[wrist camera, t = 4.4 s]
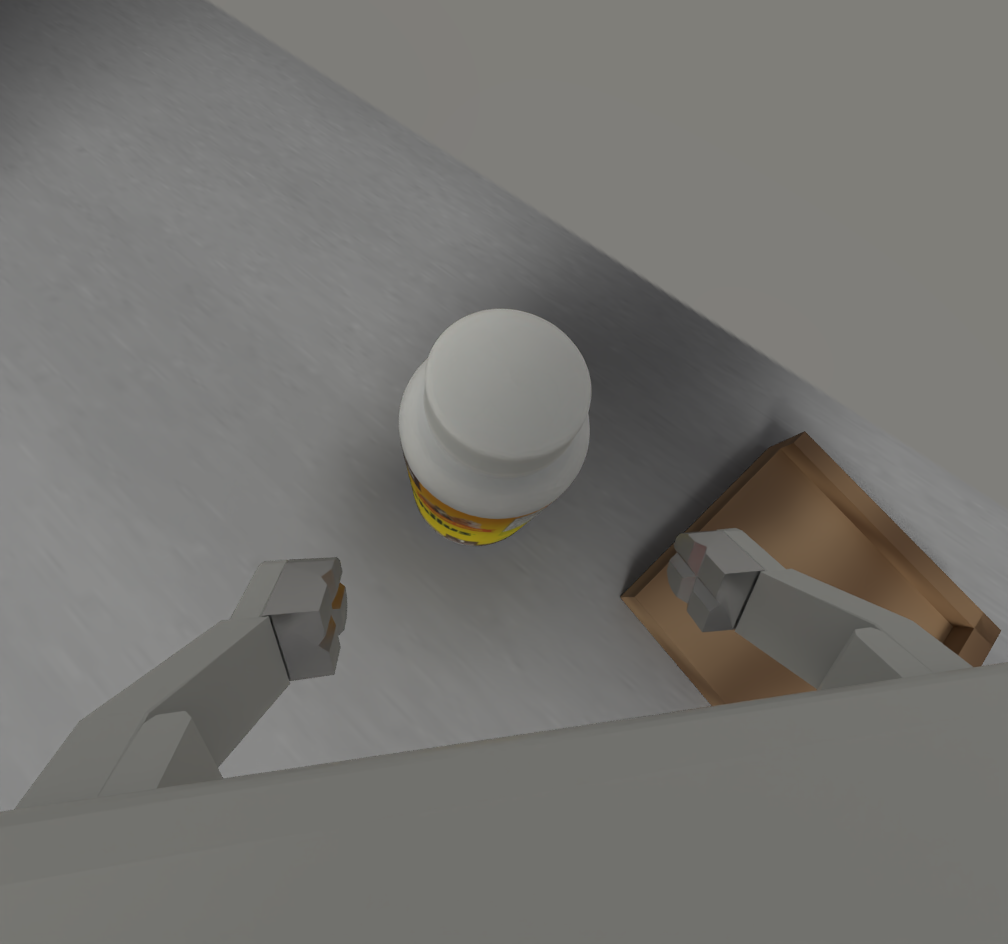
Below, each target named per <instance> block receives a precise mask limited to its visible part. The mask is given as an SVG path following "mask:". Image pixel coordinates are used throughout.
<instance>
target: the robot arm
mask: <svg viewBox="0 0 1008 944" xmlns="http://www.w3.org/2000/svg"><path fill="white" fill-rule="evenodd" d="M674 548H675V550H676V552H677V553H676V554H675V555H674V556H673V557H672V558H671V559H670V560H669V564H668V568H667V577H668V582H669V585H670V587H671V590H672V591H673V593H674V594H675V595H676V597H677V598H679V599H681V600H682V601H684V602H686V603H687V612H688V614H689V615H690V616H691V618H692V619H693V620H694V622H695V623H696V625H697V626H698V627H699V629H700V630H701V631H702V632H713V631H725V630H735V632H736V633H738V634H739V635H741V636H742V637H743V638H745V639H746V640H748V641H749V642H751V643H752V644H753V645H755V646H756V647H758V648H759V649H760V650H762V651H763V652H765V653H766V654H768V655H769V656H770V657H772V658H773V659H775V660H776V661H778V662H779V663H780V664H782V665H783V666H785V667H786V668H787V669H789V670H790V671H792V672H793V673H795V674H796V675H797V676H799V677H800V678H802V679H803V680H805V681H806V682H807V683H809V684H810V685H812V686H813V687H814V688H816V689H817V690H816V691H810V692H803V693H797V694H790V695H783V696H776V697H770V698H763V699H756V700H750V701H743V702H736V703H730V704H723V705H716V706H710V707H703V708H696V709H690V710H683V711H677V712H670V713H663V714H657V715H650V716H643V717H636V718H630V719H623V720H616V721H609V722H602V723H596V724H589V725H582V726H575V727H568V728H562V729H555V730H548V731H541V732H534V733H528V734H521V735H514V736H507V737H501V738H494V739H487V740H480V741H474V742H467V743H460V744H453V745H447V746H440V747H433V748H426V749H420V750H413V751H406V752H399V753H393V754H386V755H379V756H373V757H366V758H359V759H352V760H346V761H339V762H332V763H325V764H319V765H312V766H305V767H298V768H292V769H285V770H278V771H271V772H265V773H258V774H251V775H244V776H238V777H231V778H224V779H223V777H222V775H221V773H220V771H219V769H218V767H219V766H220V765H221V764H222V762H223V761H224V760H225V759H226V758H227V757H228V755H229V754H230V753H231V752H232V751H233V750H234V748H235V747H236V746H237V745H238V744H239V743H240V741H241V740H242V739H243V738H244V737H245V736H246V734H247V733H248V732H249V731H250V730H251V729H252V727H253V726H254V725H255V724H256V723H257V722H258V720H259V719H260V718H261V717H262V716H263V715H264V713H265V712H266V711H267V710H268V709H269V708H270V706H271V705H272V704H273V703H274V702H275V701H276V699H277V698H278V697H279V696H280V695H281V694H282V692H283V691H284V690H285V689H286V688H287V687H288V685H289V684H290V682H289V681H294V680H301V679H308V678H315V677H322V676H329V675H334V674H335V669H336V665H337V661H338V656H339V652H340V642H339V637H338V636H339V635H340V634H341V633H342V632H343V631H344V629H345V624H346V619H347V594H346V588H345V586H344V585H342V584H341V583H340V579H341V575H342V568H341V563H340V560H339V559H338V558H337V557H331V558H311V559H291V560H278V561H264V562H263V563H261V564H260V565H259V566H258V568H257V570H256V572H255V573H254V575H253V577H252V579H251V581H250V583H249V585H248V586H247V588H246V590H245V592H244V594H243V596H242V598H241V599H240V601H239V603H238V605H237V607H236V609H235V610H234V612H233V614H232V616H231V618H230V620H222V621H220V622H219V623H217V624H216V625H214V626H213V627H212V628H210V629H209V630H207V631H206V632H205V633H203V634H202V635H200V636H199V637H198V638H196V639H195V640H193V641H192V642H190V643H189V644H188V645H186V646H185V647H183V648H182V649H181V650H179V651H178V652H176V653H175V654H174V655H172V656H171V657H169V658H168V659H167V660H165V661H164V662H162V663H161V664H160V665H158V666H157V667H155V668H154V669H152V670H151V671H150V672H148V673H147V674H145V675H144V676H143V677H141V678H140V679H138V680H137V681H136V682H134V683H133V684H131V685H130V686H129V687H127V688H126V689H124V690H123V691H121V692H120V693H119V694H117V695H116V696H114V697H113V698H112V699H110V700H109V701H107V702H106V703H105V704H103V705H102V706H100V707H99V708H98V709H96V710H95V711H93V712H92V713H91V714H89V715H88V716H86V717H85V718H83V719H82V720H81V721H79V723H78V724H77V725H76V727H75V728H74V729H73V731H72V732H71V733H70V735H69V736H68V737H67V739H66V740H65V741H64V743H63V744H62V746H61V747H60V748H59V750H58V751H57V752H56V754H55V755H54V756H53V758H52V759H51V760H50V762H49V763H48V764H47V766H46V767H45V768H44V770H43V771H42V772H41V774H40V775H39V776H38V778H37V779H36V781H35V782H34V783H33V785H32V786H31V787H30V789H29V790H28V791H27V793H26V794H25V795H24V797H23V798H22V799H21V801H20V802H19V803H18V805H17V806H16V807H15V809H14V810H8V811H2V812H0V944H1008V662H1006V663H999V664H992V665H986V666H979V667H973V666H971V665H970V664H969V663H967V662H966V661H965V660H963V659H962V658H961V657H959V656H958V655H957V654H956V653H954V652H953V651H952V650H950V649H949V648H948V647H946V646H945V645H944V644H942V643H941V642H940V641H939V640H937V639H936V638H935V637H933V636H932V635H931V634H929V633H928V632H927V631H925V630H924V629H923V628H922V627H920V626H919V625H918V624H916V623H915V622H914V621H912V620H910V619H907V618H905V617H903V616H900V615H898V614H896V613H893V612H891V611H889V610H886V609H884V608H882V607H879V606H877V605H875V604H872V603H870V602H868V601H865V600H863V599H861V598H858V597H856V596H854V595H851V594H849V593H847V592H845V591H842V590H840V589H838V588H835V587H833V586H831V585H828V584H826V583H824V582H821V581H819V580H817V579H814V578H812V577H810V576H807V575H805V574H803V573H800V572H798V571H796V570H793V569H785V568H784V567H783V566H782V565H781V564H780V563H779V562H777V561H776V560H775V559H774V558H773V557H772V556H771V555H769V554H768V553H767V552H766V551H765V550H764V549H763V548H761V547H760V546H759V545H758V544H757V543H756V542H755V541H754V540H752V539H751V538H750V537H749V536H748V535H747V534H746V533H744V532H743V531H742V530H739V529H737V528H730V529H720V530H716V531H701V532H688V533H680V534H679V535H678V536H677V538H676V540H675V543H674Z"/></svg>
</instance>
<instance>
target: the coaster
mask: <svg viewBox="0 0 1008 944" xmlns="http://www.w3.org/2000/svg"><path fill="white" fill-rule="evenodd" d="M730 528H737V529H739V530H742V531H743V532H744V533H746V534H747V535H748V536H749V537H750V538H751V539H752V540H754V541H755V542H756V543H757V544H758V545H759V546H760V547H761V548H763V549H764V550H765V551H766V552H767V553H768V554H769V555H771V556H772V557H773V558H774V559H775V560H776V561H777V562H779V563H780V564H781V565H782V566H783V567H784V568H785V569H793V570H796V571H798V572H800V573H803V574H805V575H807V576H810V577H812V578H814V579H817V580H819V581H821V582H824V583H826V584H828V585H831V586H833V587H835V588H838V589H840V590H842V591H845V592H847V593H849V594H851V595H854V596H856V597H858V598H861V599H863V600H865V601H868V602H870V603H872V604H875V605H877V606H879V607H882V608H884V609H886V610H889V611H891V612H893V613H896V614H898V615H900V616H903V617H905V618H907V619H910V620H912V621H914V622H915V623H916V624H918V625H919V626H920V627H922V628H923V629H924V630H925V631H927V632H928V633H929V634H931V635H932V636H933V637H935V638H936V639H937V640H939V641H940V642H941V643H942V644H944V645H945V646H946V647H948V648H949V649H950V650H952V651H953V652H954V653H956V654H957V655H958V656H959V657H961V658H962V659H963V660H965V661H966V662H967V663H969V664H970V665H971V666H973V667H979V666H981V665H982V664H983V662H984V660H985V658H986V657H987V655H988V653H989V651H990V650H991V648H992V646H993V644H994V642H995V641H996V639H997V637H998V635H999V634H1000V632H1001V630H1000V629H999V628H998V627H997V626H996V625H995V624H994V623H993V622H992V621H991V620H990V619H989V618H988V617H987V616H986V615H985V614H984V613H983V612H982V611H981V610H980V609H979V608H978V607H977V606H976V605H975V604H974V602H973V601H972V600H971V599H970V598H969V597H968V596H967V595H966V594H965V593H964V592H963V591H962V590H961V589H960V588H959V587H958V586H957V585H956V584H955V583H954V582H953V581H952V580H951V579H950V578H949V577H948V576H947V575H946V574H945V573H944V572H943V571H942V570H941V569H940V568H939V567H938V566H937V565H936V564H935V563H934V562H933V561H932V560H931V559H930V558H929V557H928V556H927V555H926V554H925V553H924V552H923V551H922V550H921V549H920V548H919V547H918V546H917V545H916V544H915V543H914V542H913V541H912V540H911V539H910V538H909V537H908V536H907V535H906V534H905V533H904V531H903V530H902V529H901V528H900V527H899V526H898V525H897V524H896V523H895V522H894V521H893V520H892V519H891V518H890V517H889V516H888V515H887V514H886V513H885V512H884V511H883V510H882V509H881V508H880V507H879V506H878V505H877V504H876V503H875V502H874V501H873V500H872V499H871V498H870V497H869V496H868V495H867V494H866V493H865V492H864V491H863V490H862V489H861V488H860V487H859V486H858V485H857V484H856V483H855V482H854V481H853V480H852V479H851V478H850V477H849V476H848V475H847V474H846V473H845V472H844V471H843V470H842V469H841V468H840V467H839V466H838V465H837V464H836V463H835V462H834V460H833V459H832V458H831V457H830V456H829V455H828V454H827V453H826V452H825V451H824V450H823V449H822V448H821V447H820V446H819V445H818V444H817V443H816V442H815V441H814V440H813V439H812V438H811V437H810V436H809V435H808V434H807V433H806V432H805V431H804V432H802V433H800V434H798V435H796V436H793V437H791V438H789V439H787V440H785V441H782V442H780V443H778V444H776V445H774V446H771V447H769V448H768V449H767V450H766V451H765V452H764V453H763V454H762V455H761V456H760V457H759V458H758V459H757V460H756V461H755V462H754V463H753V464H752V465H751V466H750V467H749V468H748V469H747V470H746V471H745V472H744V473H743V474H742V475H741V476H740V477H739V478H738V479H737V480H736V481H735V482H734V483H733V484H732V485H731V486H730V487H729V488H728V489H727V490H726V491H725V492H724V493H723V494H722V495H721V496H720V497H719V498H718V499H717V500H716V501H715V502H714V503H713V504H712V505H711V506H710V507H709V508H708V509H707V510H706V511H705V512H704V513H703V514H702V515H701V516H700V517H699V518H698V519H697V520H696V521H695V522H694V523H693V524H692V525H691V526H690V527H689V528H688V529H687V530H686V531H685V532H684V533H688V532H701V531H716V530H720V529H730ZM674 543H675V542H674ZM674 543H673V544H672V545H671V546H670V547H669V548H668V549H667V550H666V551H665V552H664V553H663V554H662V555H661V556H660V557H659V558H658V559H657V560H656V561H655V562H654V563H653V564H652V565H651V566H650V568H649V569H648V570H647V571H646V572H645V573H644V574H643V575H642V576H641V577H640V578H639V579H638V580H637V581H636V582H635V583H634V584H633V585H632V586H631V587H630V588H629V589H628V590H627V591H626V592H625V593H624V594H623V595H622V596H621V597H620V598H621V599H622V600H623V601H624V602H625V604H626V605H627V606H628V607H629V608H630V610H631V611H632V612H633V613H634V614H635V615H636V617H637V618H638V619H639V620H640V621H641V623H642V624H643V625H644V626H645V627H646V628H647V630H648V631H649V632H650V633H651V634H652V636H653V637H654V638H655V639H656V640H657V642H658V643H659V644H660V645H661V646H662V647H663V649H664V650H665V651H666V652H667V653H668V655H669V656H670V657H671V658H672V659H673V660H674V662H675V663H676V664H677V665H678V666H679V668H680V669H681V670H682V671H683V672H684V673H685V675H686V676H687V677H688V678H689V679H690V681H691V682H692V683H693V684H694V685H695V687H696V688H697V689H698V690H699V691H700V692H701V694H702V695H703V696H704V697H705V698H706V700H707V701H708V702H709V703H710V704H711V705H712V706H716V705H723V704H730V703H736V702H743V701H750V700H756V699H763V698H770V697H776V696H783V695H790V694H797V693H803V692H810V691H816V690H817V689H816V688H814V687H813V686H812V685H810V684H809V683H807V682H806V681H805V680H803V679H802V678H800V677H799V676H797V675H796V674H795V673H793V672H792V671H790V670H789V669H787V668H786V667H785V666H783V665H782V664H780V663H779V662H778V661H776V660H775V659H773V658H772V657H770V656H769V655H768V654H766V653H765V652H763V651H762V650H760V649H759V648H758V647H756V646H755V645H753V644H752V643H751V642H749V641H748V640H746V639H745V638H743V637H742V636H741V635H739V634H738V633H736V632H735V630H725V631H713V632H702V631H701V630H700V629H699V627H698V626H697V625H696V623H695V622H694V620H693V619H692V618H691V616H690V615H689V614H688V612H687V603H686V602H684V601H682V600H681V599H679V598H677V597H676V595H675V594H674V593H673V591H672V590H671V587H670V585H669V582H668V577H667V568H668V564H669V560H670V559H671V558H672V557H673V556H674V555H675V554H676V553H677V552H676V550H675V548H674Z"/></svg>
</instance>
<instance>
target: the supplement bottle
mask: <svg viewBox="0 0 1008 944" xmlns="http://www.w3.org/2000/svg"><path fill="white" fill-rule="evenodd" d="M591 391H592V390H591V380H590V375H589V371H588V368H587V365H586V363H585V360H584V358H583V356H582V355H581V353H580V351H579V350H578V348H577V347H576V345H575V344H574V343H573V342H572V341H571V339H570V338H569V337H568V336H567V335H566V334H565V333H564V332H562V331H561V330H560V329H559V328H557V327H556V326H555V325H553V324H552V323H550V322H548V321H546V320H545V319H543V318H540V317H538V316H536V315H533V314H530V313H527V312H523V311H519V310H512V309H490V310H483V311H479V312H476V313H473V314H470V315H467V316H465V317H463V318H461V319H460V320H458V321H456V322H455V323H454V324H452V325H451V326H450V327H448V328H447V329H446V330H445V331H444V332H443V333H442V334H441V335H440V337H439V338H438V339H437V341H436V342H435V344H434V346H433V347H432V349H431V351H430V354H429V357H428V359H426V360H425V361H424V362H423V363H422V364H421V365H420V366H419V368H418V369H417V370H416V372H415V373H414V375H413V376H412V378H411V379H410V381H409V383H408V385H407V387H406V389H405V391H404V394H403V398H402V400H401V405H400V410H399V434H400V440H401V446H402V450H403V454H404V458H405V462H406V465H407V469H408V474H409V478H410V482H411V486H412V490H413V494H414V498H415V501H416V504H417V506H418V509H419V511H420V513H421V515H422V516H423V518H424V519H425V521H426V522H427V523H428V524H429V525H430V526H431V528H433V529H434V530H435V531H436V532H437V533H438V534H440V535H441V536H443V537H445V538H447V539H448V540H451V541H453V542H456V543H459V544H463V545H469V546H482V545H489V544H493V543H496V542H499V541H501V540H503V539H506V538H507V537H509V536H511V535H512V534H514V533H515V532H516V531H517V530H519V529H520V528H521V527H522V526H524V525H525V524H526V523H527V522H529V521H530V520H531V519H532V518H534V517H535V516H536V515H537V514H539V513H540V512H541V511H542V510H543V509H545V508H546V507H547V506H548V505H550V504H551V503H552V502H553V501H555V500H556V499H557V498H558V497H559V496H560V495H562V494H563V493H564V492H565V490H566V489H567V488H568V487H569V486H570V485H571V484H572V482H573V481H574V480H575V478H576V477H577V475H578V473H579V472H580V470H581V467H582V465H583V463H584V460H585V458H586V454H587V451H588V446H589V438H590V423H589V415H588V411H589V408H590V402H591Z"/></svg>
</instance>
